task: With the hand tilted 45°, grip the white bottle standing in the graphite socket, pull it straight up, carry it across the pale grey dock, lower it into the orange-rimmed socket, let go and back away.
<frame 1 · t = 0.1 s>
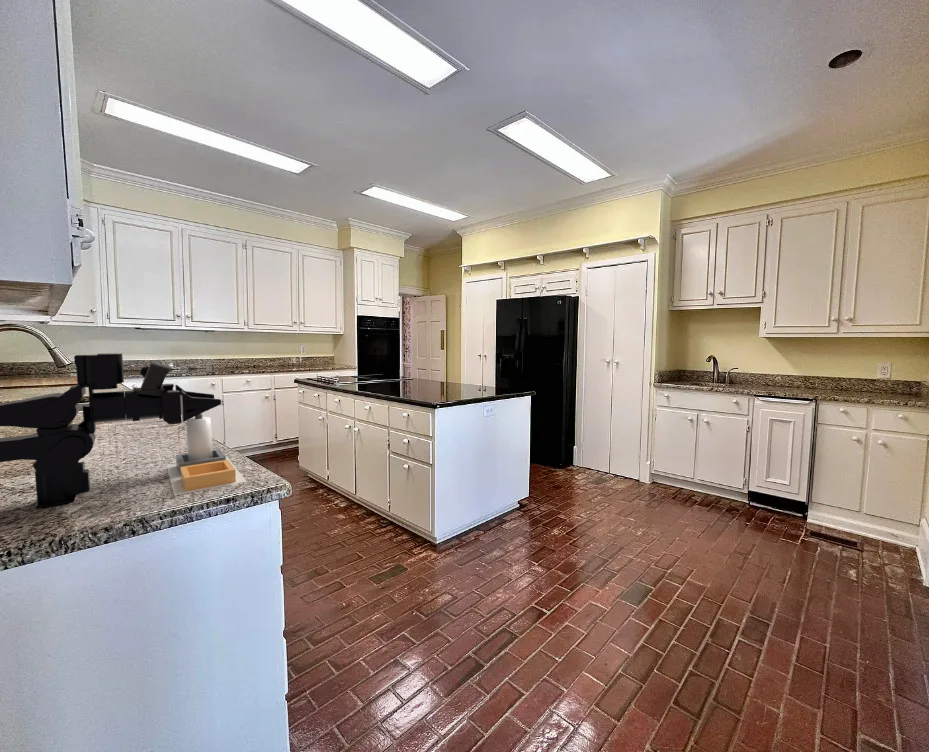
hand: (217, 399, 90), 16 cm above the countertop, tool horizontal, fingers open, 9 cm apart
white bottle: (201, 467, 92), point 1 cm above the countertop, touching dock
dock: (204, 477, 88), on the countertop
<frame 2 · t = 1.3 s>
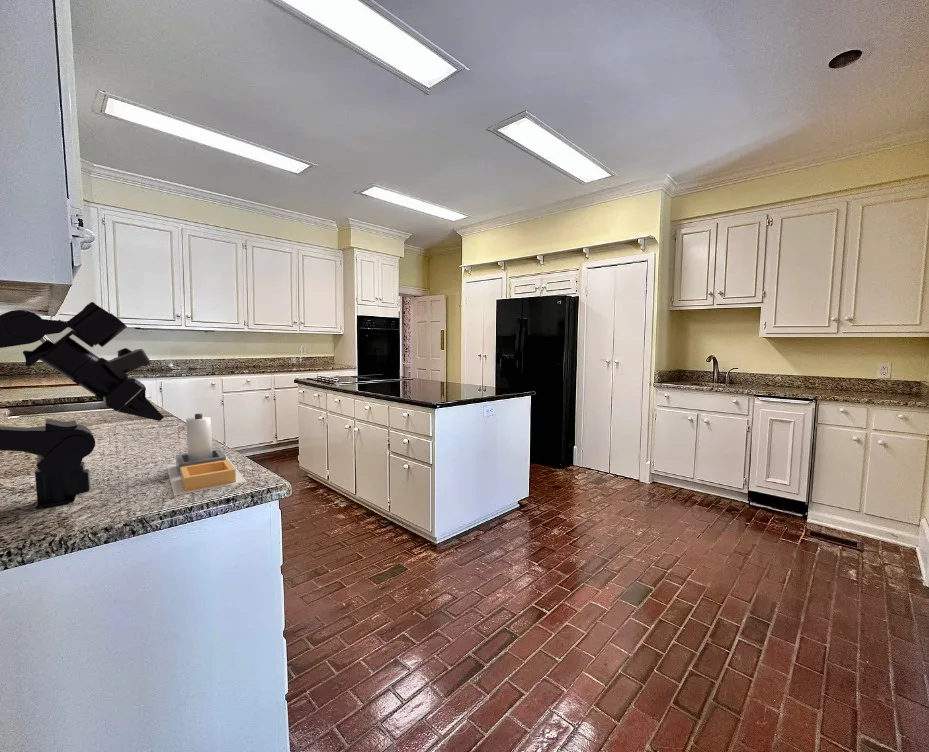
hand: (156, 416, 85), 14 cm above the countertop, tool tilted 45°, fingers open, 9 cm apart
nothing on the countertop moved.
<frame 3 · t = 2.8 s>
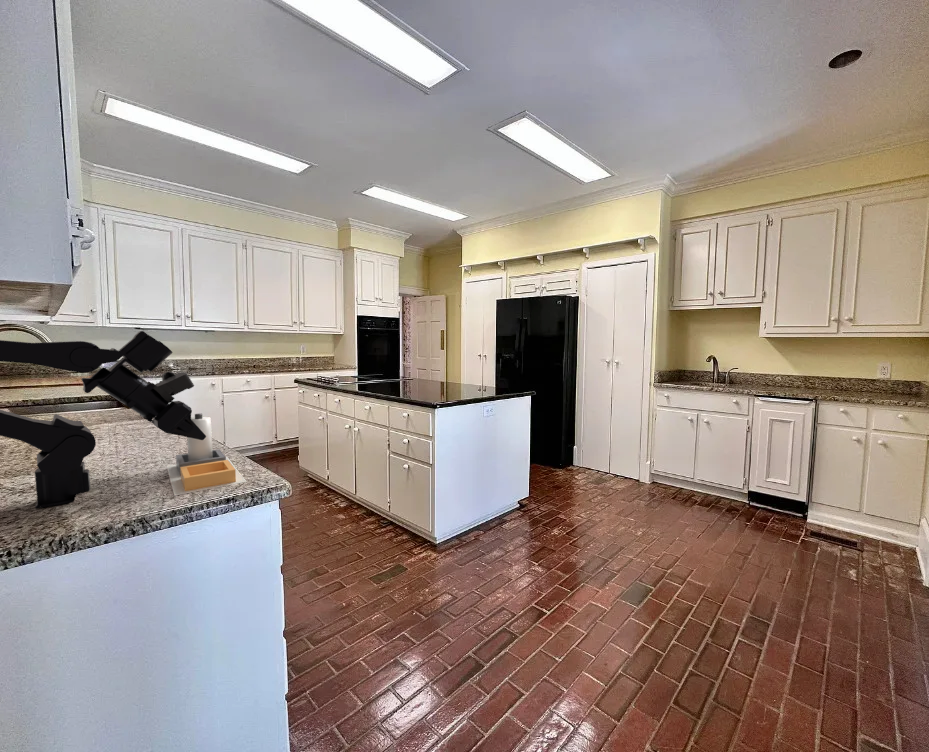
hand: (198, 434, 91), 8 cm above the countertop, tool tilted 45°, fingers open, 9 cm apart
nothing on the countertop moved.
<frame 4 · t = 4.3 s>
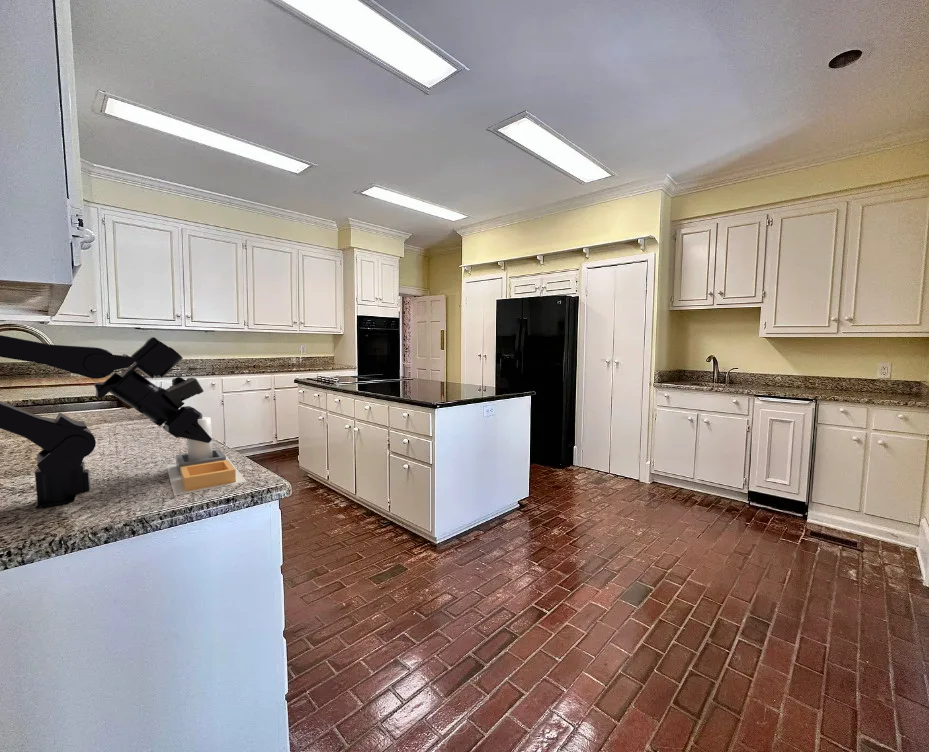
hand: (206, 439, 92), 7 cm above the countertop, tool tilted 45°, fingers closed on white bottle, 5 cm apart
white bottle: (201, 467, 92), point 1 cm above the countertop, touching dock, gripper
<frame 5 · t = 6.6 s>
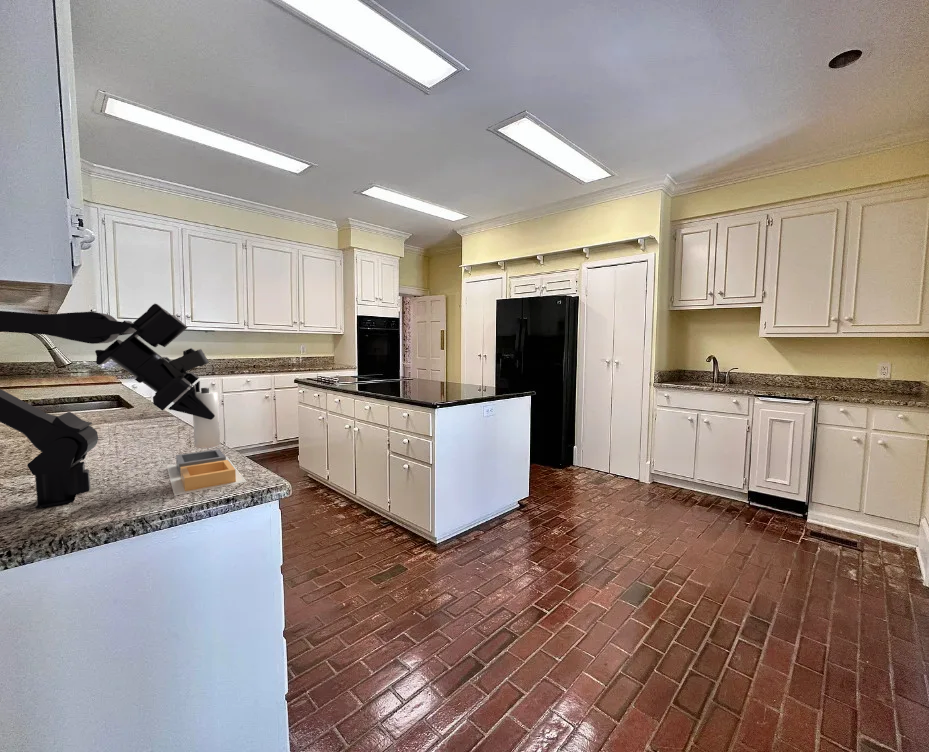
hand: (214, 415, 86), 14 cm above the countertop, tool tilted 45°, fingers closed on white bottle, 5 cm apart
white bottle: (207, 445, 86), point 7 cm above the countertop, touching gripper
when the fingers open (9 cm above the countertop, at t = 8.9 s): white bottle drops 1 cm, resting on dock.
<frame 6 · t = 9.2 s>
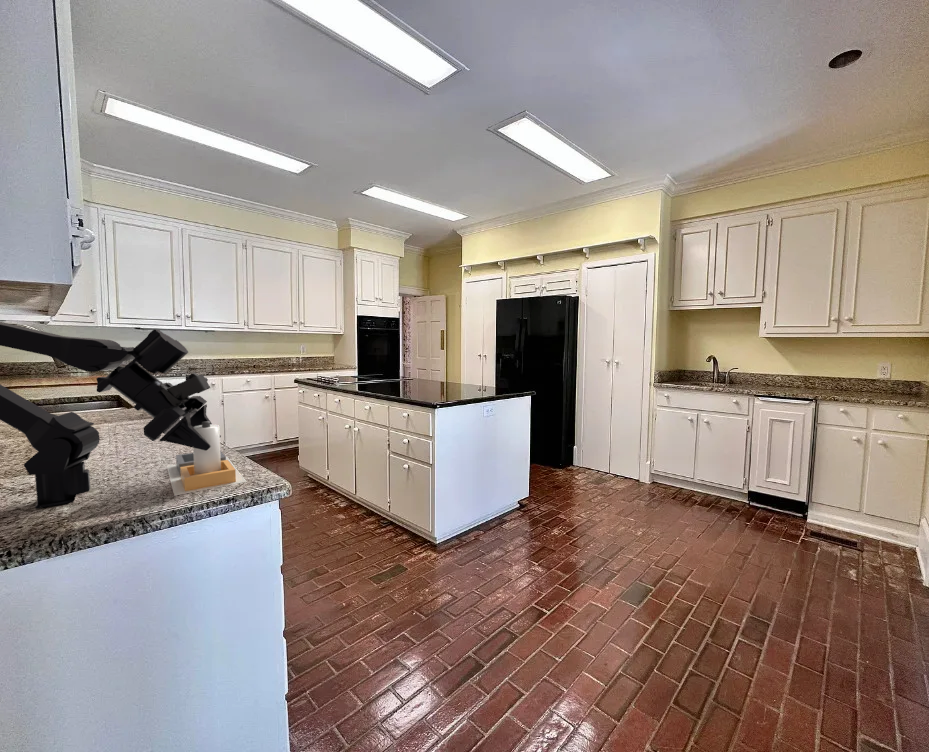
hand: (214, 443, 83), 9 cm above the countertop, tool tilted 45°, fingers open, 8 cm apart
white bottle: (208, 480, 83), point 1 cm above the countertop, touching dock
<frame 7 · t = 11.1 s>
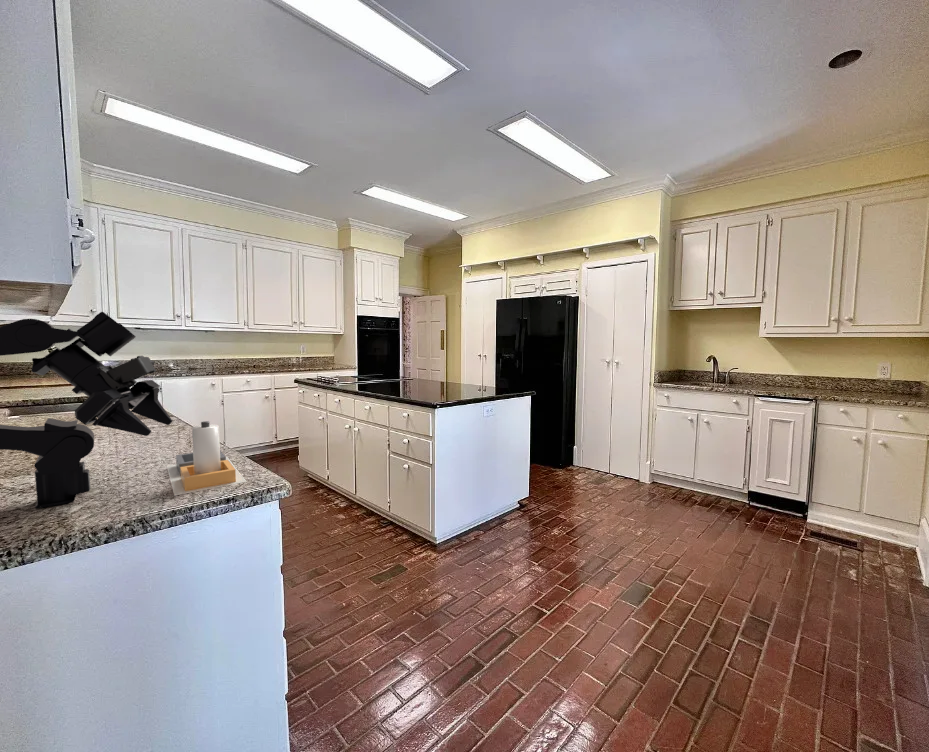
hand: (160, 428, 80), 12 cm above the countertop, tool tilted 45°, fingers open, 9 cm apart
nothing on the countertop moved.
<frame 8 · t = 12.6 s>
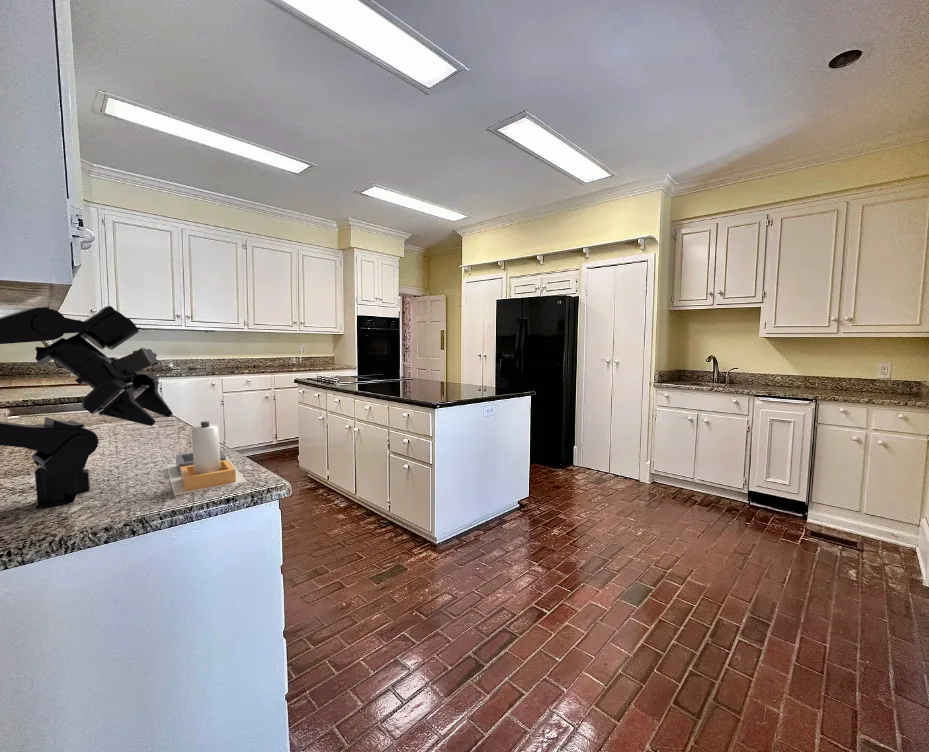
hand: (162, 419, 82), 14 cm above the countertop, tool tilted 45°, fingers open, 9 cm apart
nothing on the countertop moved.
at the end: white bottle 0.0 cm from the target spot on the dock, point 1.0 cm above the dock's base; white bottle tilted 0°; the gripper is holding nothing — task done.
